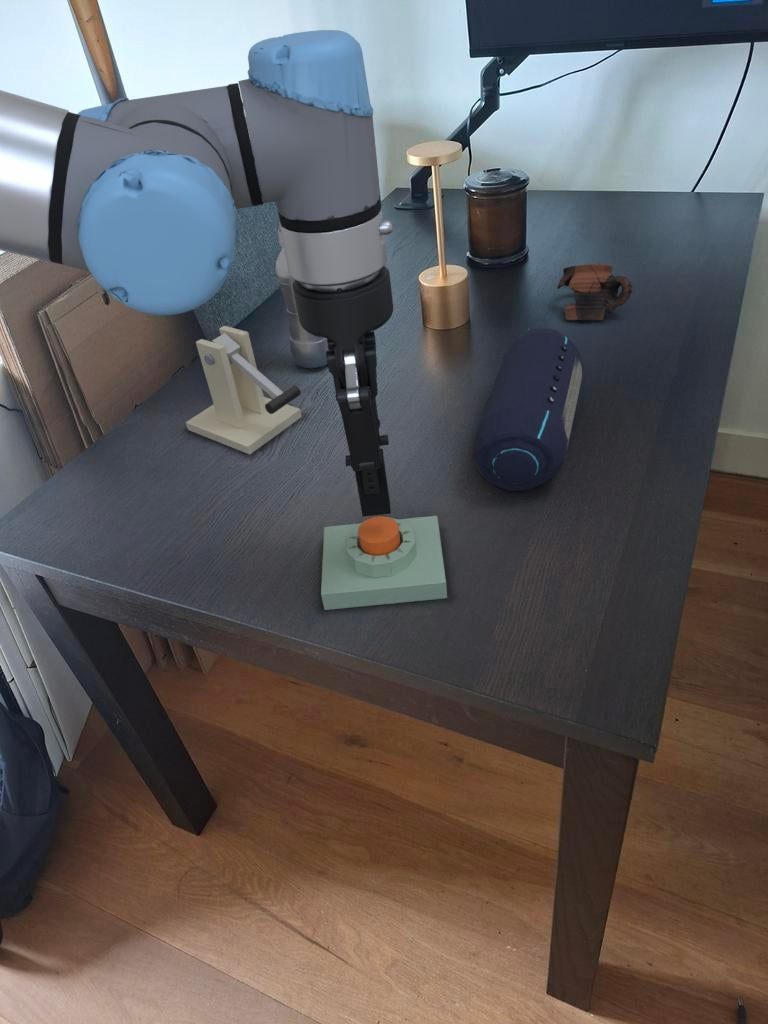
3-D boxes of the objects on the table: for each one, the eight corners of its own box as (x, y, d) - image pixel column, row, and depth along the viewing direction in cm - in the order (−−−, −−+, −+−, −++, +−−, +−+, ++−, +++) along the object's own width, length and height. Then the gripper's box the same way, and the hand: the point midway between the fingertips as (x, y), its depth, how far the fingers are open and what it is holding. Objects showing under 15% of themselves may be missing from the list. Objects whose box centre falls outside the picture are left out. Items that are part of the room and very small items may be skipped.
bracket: (302, 417, 102) (284, 329, 94) (249, 455, 96) (225, 365, 88) (240, 395, 108) (218, 312, 100) (188, 430, 103) (160, 344, 95)
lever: (298, 399, 96) (302, 387, 94) (271, 419, 93) (275, 406, 91) (230, 341, 98) (232, 328, 96) (201, 358, 95) (203, 345, 93)
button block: (324, 610, 74) (317, 581, 71) (327, 542, 82) (321, 513, 79) (447, 598, 73) (445, 568, 71) (438, 531, 81) (436, 502, 79)
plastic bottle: (312, 349, 117) (287, 218, 105) (346, 358, 114) (325, 223, 101) (284, 367, 113) (255, 234, 101) (319, 377, 110) (293, 240, 97)
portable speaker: (560, 509, 82) (564, 431, 75) (469, 499, 85) (465, 424, 78) (584, 389, 100) (589, 318, 93) (508, 385, 103) (508, 316, 96)
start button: (360, 558, 74) (358, 544, 73) (360, 531, 77) (357, 518, 76) (401, 554, 74) (399, 540, 72) (399, 527, 77) (397, 514, 76)
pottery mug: (545, 322, 117) (546, 267, 115) (574, 326, 124) (575, 273, 122) (620, 317, 109) (622, 257, 107) (646, 321, 116) (648, 264, 114)
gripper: (392, 301, 52) (419, 552, 67) (386, 235, 63) (411, 466, 77) (284, 314, 53) (336, 560, 68) (296, 246, 63) (338, 474, 78)
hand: (376, 510), depth 73 cm, fingers closed
